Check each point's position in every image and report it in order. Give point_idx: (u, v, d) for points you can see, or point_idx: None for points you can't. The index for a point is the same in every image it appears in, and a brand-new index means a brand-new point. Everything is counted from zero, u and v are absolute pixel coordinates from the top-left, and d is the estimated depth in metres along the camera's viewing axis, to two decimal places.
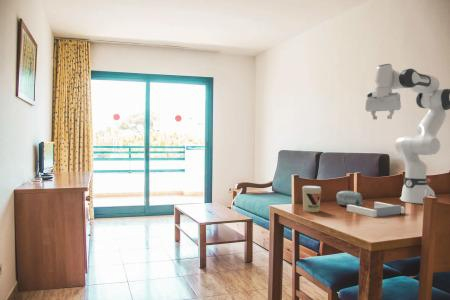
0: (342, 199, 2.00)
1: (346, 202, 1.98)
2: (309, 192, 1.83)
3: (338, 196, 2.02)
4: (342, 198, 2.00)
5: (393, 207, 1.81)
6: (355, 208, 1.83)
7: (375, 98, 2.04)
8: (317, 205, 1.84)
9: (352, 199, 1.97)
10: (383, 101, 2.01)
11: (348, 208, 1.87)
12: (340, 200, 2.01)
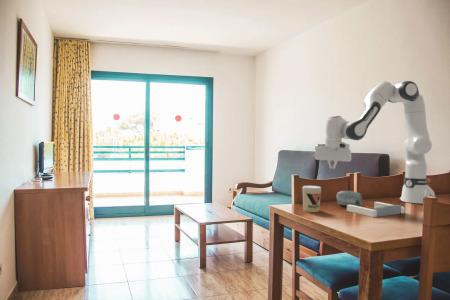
0: (342, 199, 2.00)
1: (346, 202, 1.98)
2: (309, 192, 1.83)
3: (338, 196, 2.02)
4: (342, 198, 2.00)
5: (393, 207, 1.81)
6: (355, 208, 1.83)
7: None
8: (317, 205, 1.84)
9: (352, 199, 1.97)
10: None
11: (348, 208, 1.87)
12: (340, 200, 2.01)
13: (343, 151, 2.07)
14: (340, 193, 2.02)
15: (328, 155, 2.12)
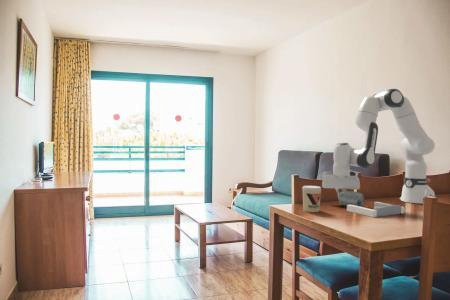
0: (343, 199, 1.98)
1: (348, 202, 1.97)
2: (309, 192, 1.83)
3: (340, 196, 2.01)
4: (343, 198, 1.99)
5: (393, 207, 1.81)
6: (355, 208, 1.83)
7: None
8: (317, 205, 1.84)
9: (353, 199, 1.95)
10: None
11: (348, 208, 1.87)
12: (342, 200, 1.99)
13: (353, 179, 2.04)
14: (342, 193, 2.01)
15: (337, 183, 2.06)
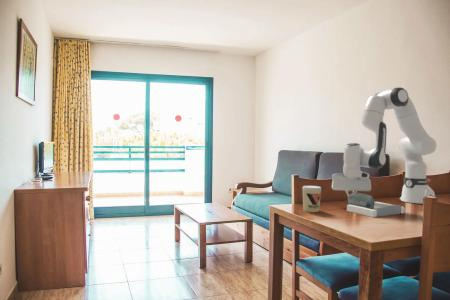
0: (352, 201, 1.92)
1: (356, 204, 1.91)
2: (309, 192, 1.83)
3: (349, 198, 1.95)
4: (352, 200, 1.93)
5: (393, 207, 1.81)
6: (355, 208, 1.83)
7: None
8: (317, 205, 1.84)
9: (362, 202, 1.89)
10: None
11: (348, 208, 1.87)
12: (350, 202, 1.94)
13: (364, 180, 1.98)
14: (351, 195, 1.95)
15: (348, 185, 1.99)
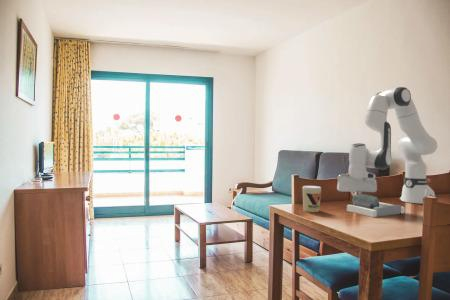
0: (356, 202, 1.90)
1: (360, 206, 1.88)
2: (309, 192, 1.83)
3: (353, 199, 1.92)
4: (356, 201, 1.90)
5: (393, 207, 1.81)
6: (355, 208, 1.83)
7: None
8: (317, 205, 1.84)
9: (366, 203, 1.86)
10: None
11: (348, 208, 1.87)
12: (355, 203, 1.91)
13: (370, 181, 1.95)
14: (355, 196, 1.92)
15: (354, 186, 1.95)
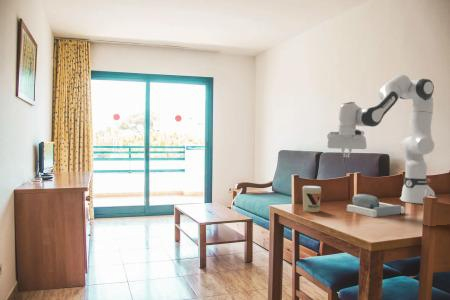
0: (357, 203, 1.89)
1: (360, 206, 1.88)
2: (309, 192, 1.83)
3: (353, 199, 1.92)
4: (357, 201, 1.90)
5: (393, 207, 1.81)
6: (355, 208, 1.83)
7: None
8: (317, 205, 1.84)
9: (366, 203, 1.86)
10: None
11: (348, 208, 1.87)
12: (355, 204, 1.91)
13: (358, 138, 1.99)
14: (355, 196, 1.92)
15: (342, 143, 2.02)
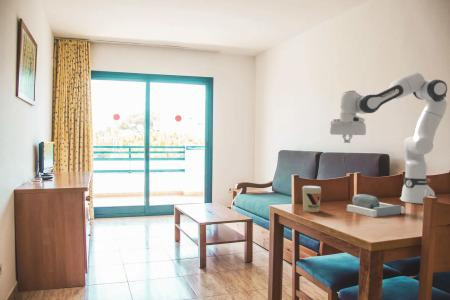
0: (357, 203, 1.89)
1: (360, 206, 1.88)
2: (309, 192, 1.83)
3: (353, 199, 1.92)
4: (357, 201, 1.90)
5: (393, 207, 1.81)
6: (355, 208, 1.83)
7: None
8: (317, 205, 1.84)
9: (366, 203, 1.86)
10: None
11: (348, 208, 1.87)
12: (355, 204, 1.91)
13: (357, 125, 2.10)
14: (355, 196, 1.92)
15: (343, 130, 2.15)
